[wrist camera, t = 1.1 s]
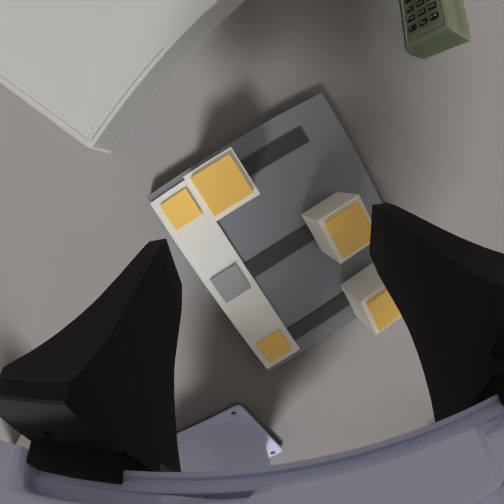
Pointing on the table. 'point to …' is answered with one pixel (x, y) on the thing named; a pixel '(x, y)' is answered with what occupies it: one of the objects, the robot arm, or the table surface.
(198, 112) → the table surface
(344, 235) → the switch mid
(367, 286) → the switch far
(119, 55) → the power supply unit
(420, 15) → the handheld radio
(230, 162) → the switch near
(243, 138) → the switch unit
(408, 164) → the table surface
